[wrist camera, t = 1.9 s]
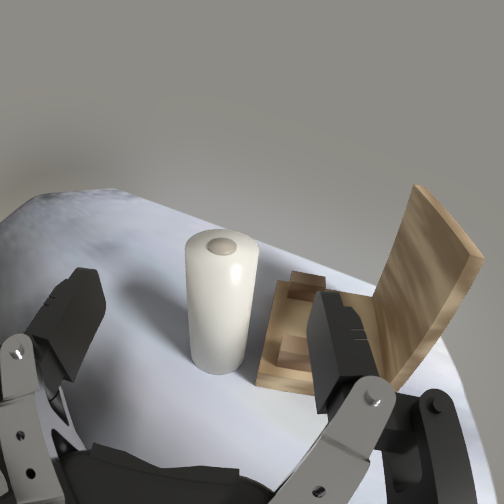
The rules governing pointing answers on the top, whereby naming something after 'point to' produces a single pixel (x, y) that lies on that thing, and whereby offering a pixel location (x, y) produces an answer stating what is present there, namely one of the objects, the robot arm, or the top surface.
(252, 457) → the top surface
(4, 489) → the cup
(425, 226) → the holder
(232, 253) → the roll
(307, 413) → the top surface
